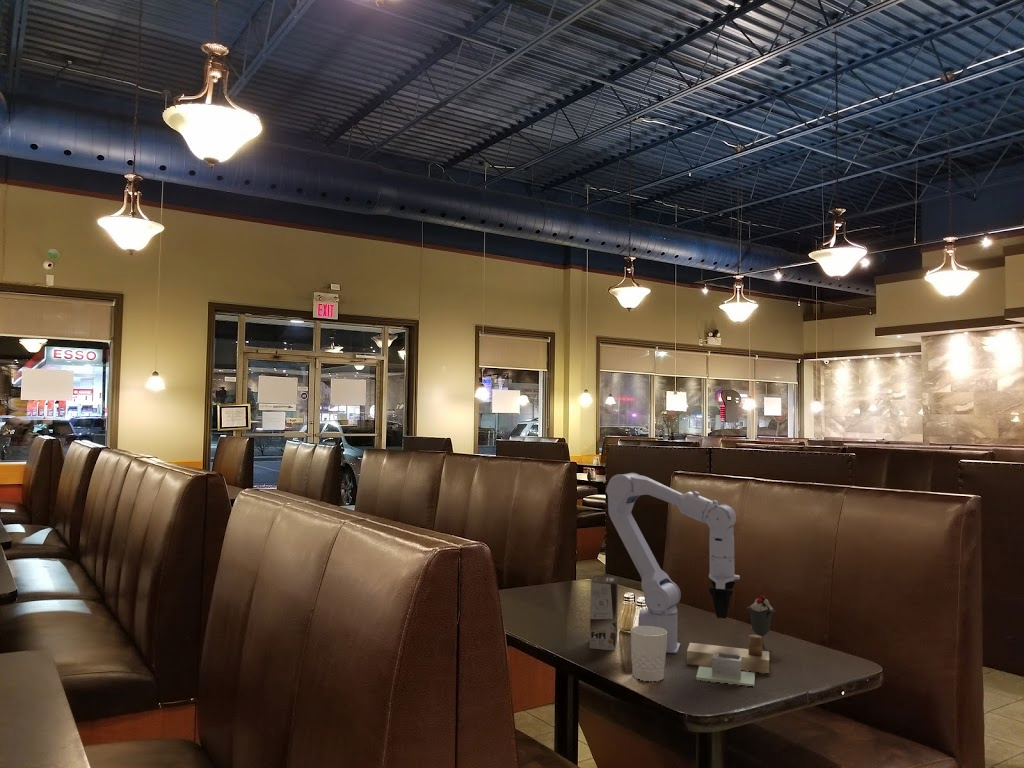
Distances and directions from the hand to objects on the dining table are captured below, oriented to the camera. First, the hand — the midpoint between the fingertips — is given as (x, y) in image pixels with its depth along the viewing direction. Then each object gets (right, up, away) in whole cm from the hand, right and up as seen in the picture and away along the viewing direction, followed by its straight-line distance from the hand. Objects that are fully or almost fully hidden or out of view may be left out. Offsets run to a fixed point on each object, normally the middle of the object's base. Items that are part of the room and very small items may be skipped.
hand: (722, 614), depth 180 cm
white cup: (-20, -10, -15) cm, 27 cm away
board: (-3, -10, -14) cm, 17 cm away
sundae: (+11, -11, +7) cm, 18 cm away
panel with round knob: (0, -10, -5) cm, 11 cm away
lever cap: (-3, -9, -14) cm, 17 cm away
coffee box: (-27, -11, +9) cm, 30 cm away
